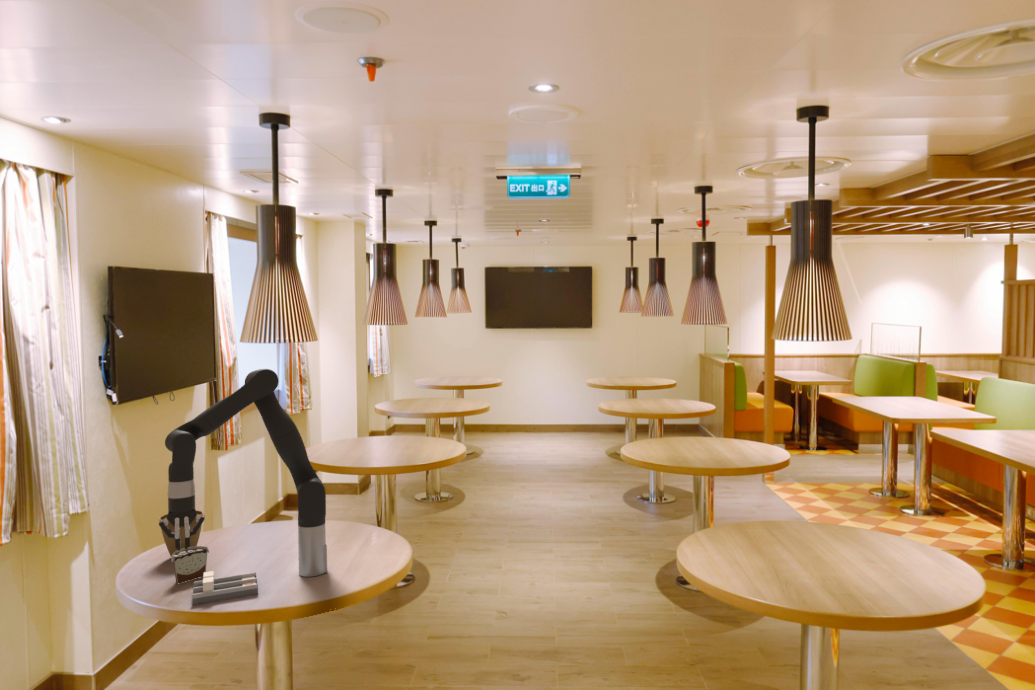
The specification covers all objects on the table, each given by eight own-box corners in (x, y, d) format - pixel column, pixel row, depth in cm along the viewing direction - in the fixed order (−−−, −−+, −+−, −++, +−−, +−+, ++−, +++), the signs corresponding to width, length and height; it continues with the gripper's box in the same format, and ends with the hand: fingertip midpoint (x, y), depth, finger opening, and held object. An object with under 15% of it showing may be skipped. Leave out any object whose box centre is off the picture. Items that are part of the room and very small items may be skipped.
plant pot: (212, 550, 252) (211, 509, 252) (188, 563, 237) (187, 520, 237) (176, 549, 253) (175, 509, 253) (151, 563, 239) (150, 520, 238)
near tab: (213, 588, 208) (213, 576, 207) (213, 593, 204) (213, 581, 203) (203, 590, 206) (203, 578, 206) (203, 595, 202) (202, 582, 202)
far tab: (214, 582, 213) (213, 570, 213) (213, 587, 209) (213, 575, 209) (203, 584, 211) (203, 572, 211) (203, 589, 207) (203, 576, 207)
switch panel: (256, 581, 219) (256, 572, 219) (258, 594, 208) (257, 584, 208) (194, 591, 211) (193, 581, 211) (192, 605, 200) (192, 594, 200)
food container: (201, 571, 230) (201, 543, 229) (209, 575, 226) (209, 546, 225) (165, 581, 220) (164, 552, 220) (172, 585, 216) (172, 556, 216)
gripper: (206, 489, 208) (207, 542, 208) (157, 494, 202) (159, 549, 202) (205, 494, 201) (206, 549, 201) (155, 499, 195) (156, 556, 196)
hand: (182, 549), depth 202 cm, fingers closed
